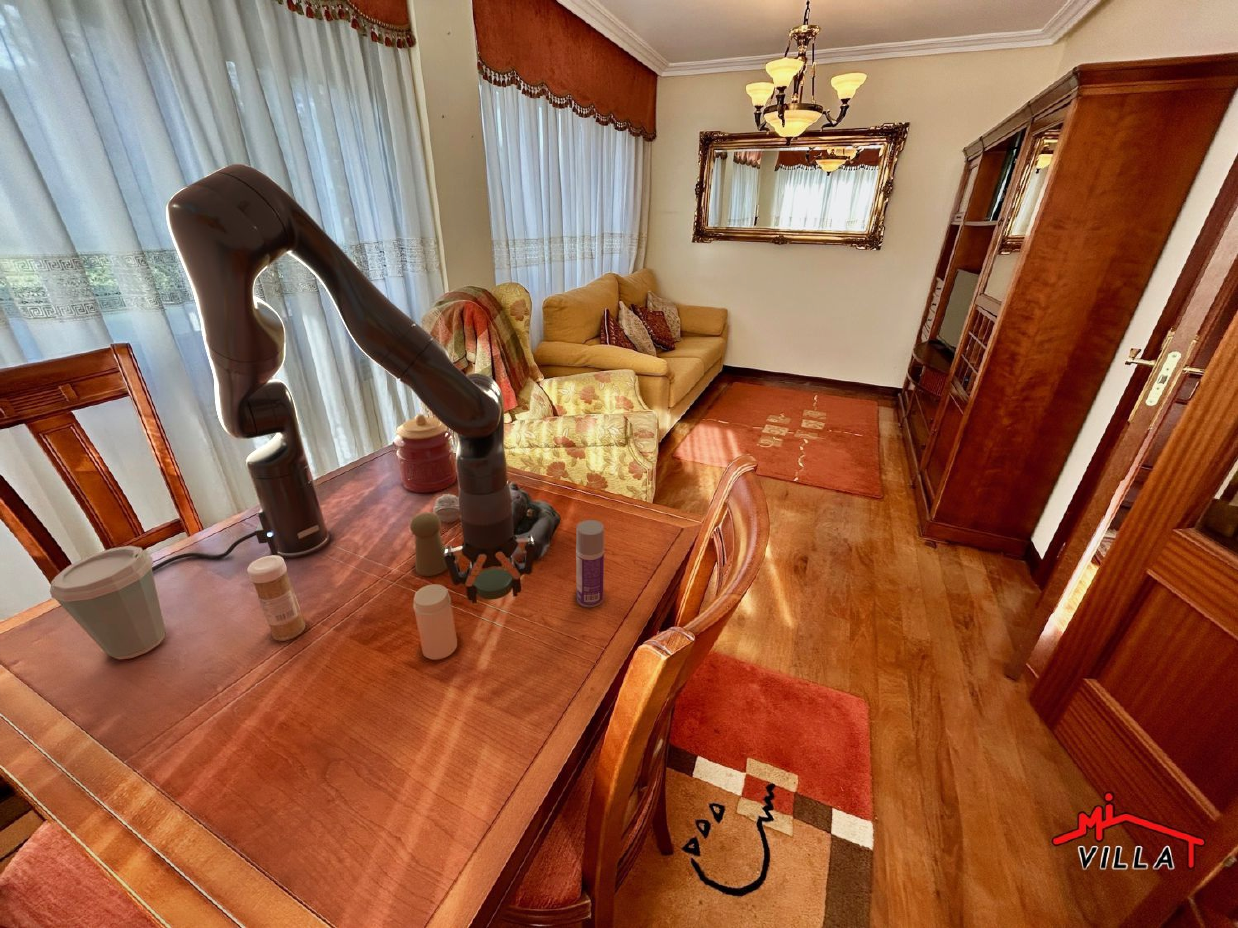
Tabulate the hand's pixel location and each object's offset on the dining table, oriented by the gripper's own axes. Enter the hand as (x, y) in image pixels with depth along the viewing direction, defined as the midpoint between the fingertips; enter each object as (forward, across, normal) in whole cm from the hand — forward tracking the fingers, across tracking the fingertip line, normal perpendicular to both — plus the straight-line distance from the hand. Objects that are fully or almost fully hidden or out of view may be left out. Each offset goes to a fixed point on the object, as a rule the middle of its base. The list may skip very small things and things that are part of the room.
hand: (495, 596), depth 82 cm
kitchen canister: (+4, -13, +51) cm, 53 cm away
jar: (+4, -9, -5) cm, 11 cm away
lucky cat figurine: (+4, +6, +19) cm, 20 cm away
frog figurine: (+4, -8, +31) cm, 32 cm away
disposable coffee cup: (+4, -53, +7) cm, 54 cm away
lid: (-3, 0, 0) cm, 3 cm away
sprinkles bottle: (+4, -32, +4) cm, 33 cm away
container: (+4, +16, 0) cm, 17 cm away
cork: (+4, -11, +16) cm, 20 cm away
